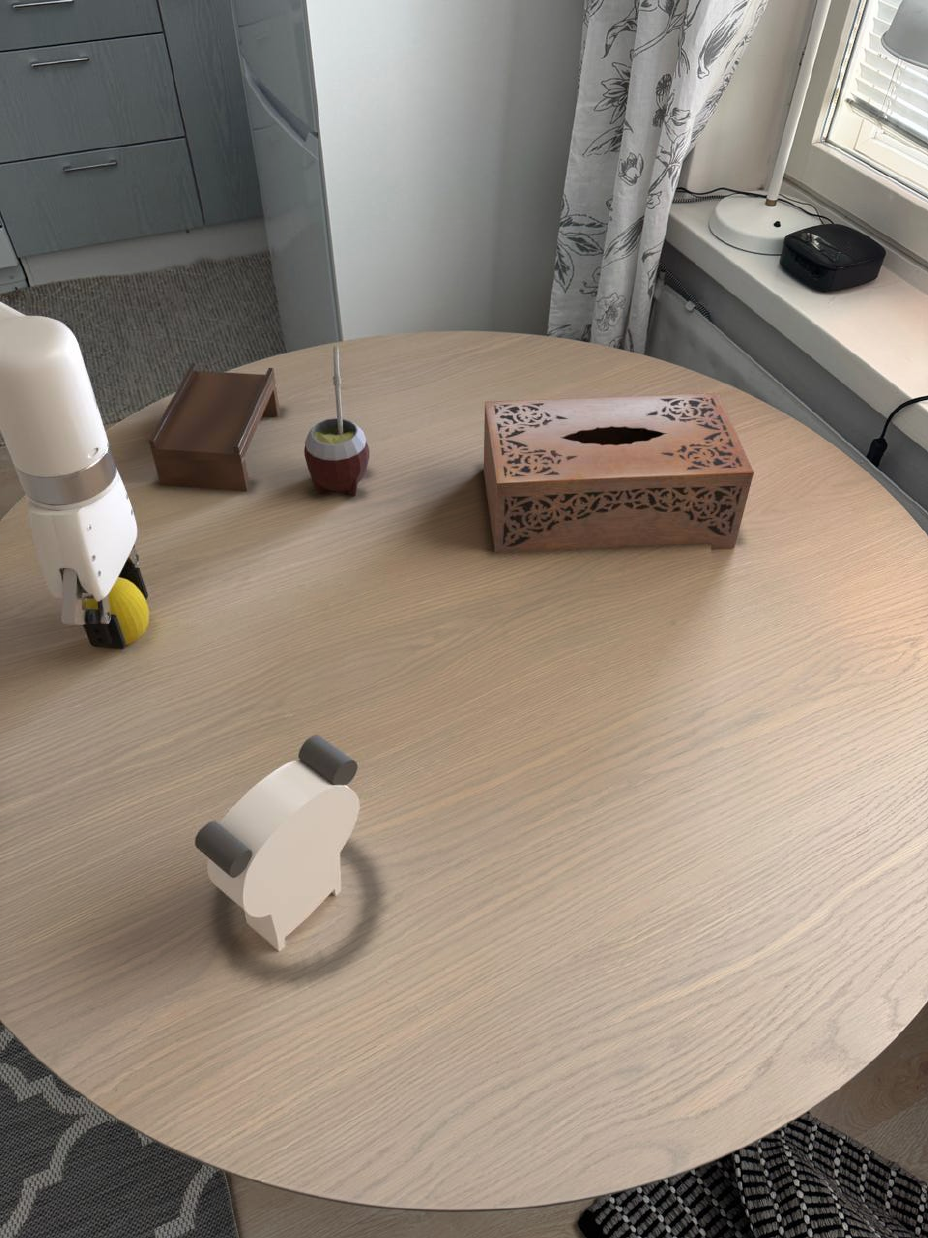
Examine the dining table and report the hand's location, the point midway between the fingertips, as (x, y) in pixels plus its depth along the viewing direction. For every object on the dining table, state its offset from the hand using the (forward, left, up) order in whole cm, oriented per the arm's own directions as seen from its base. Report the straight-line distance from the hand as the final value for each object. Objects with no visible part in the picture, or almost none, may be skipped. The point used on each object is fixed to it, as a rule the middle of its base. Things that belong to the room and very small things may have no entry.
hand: (120, 620), depth 95 cm
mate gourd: (+16, +26, -3) cm, 31 cm away
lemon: (0, 0, -3) cm, 3 cm away
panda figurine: (+23, -26, -3) cm, 35 cm away
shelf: (+1, +31, -3) cm, 31 cm away
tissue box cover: (+46, +25, -3) cm, 52 cm away
